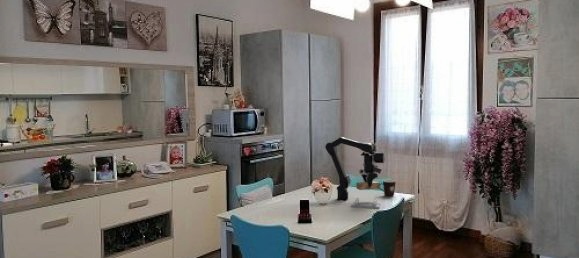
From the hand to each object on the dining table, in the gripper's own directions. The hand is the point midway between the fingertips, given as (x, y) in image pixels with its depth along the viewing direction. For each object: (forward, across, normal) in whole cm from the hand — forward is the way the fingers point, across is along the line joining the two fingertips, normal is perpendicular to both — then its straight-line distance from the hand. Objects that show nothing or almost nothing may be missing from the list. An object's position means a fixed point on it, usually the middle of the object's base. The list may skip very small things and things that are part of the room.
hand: (368, 186), depth 293 cm
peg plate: (+10, -12, +6) cm, 16 cm away
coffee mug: (+10, +14, -18) cm, 25 cm away
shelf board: (+1, 0, 0) cm, 1 cm away
